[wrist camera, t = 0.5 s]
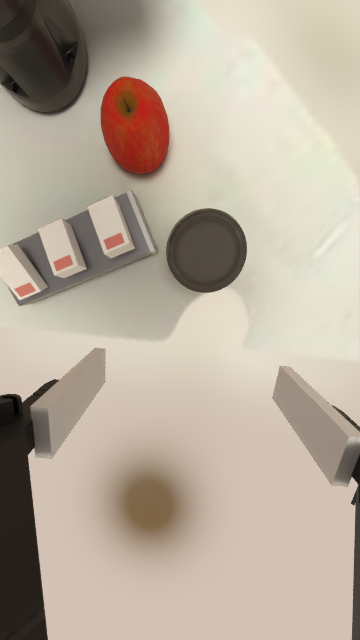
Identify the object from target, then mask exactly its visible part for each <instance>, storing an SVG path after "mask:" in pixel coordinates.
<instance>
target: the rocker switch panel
mask: <svg viewBox="0 0 360 640" xmlns="http://www.w3.org/2000/svg"><path fill="white" fill-rule="evenodd" d="M115 199H116V201H117V202H118V203H119V206H120V209H121V211H122V214H123V217H124V220H125V222H126V225H127V228H128V231H129V233H130V236H131V239H132V242H133V244H134V247H135V249H133V250H130V251H128V252H125V253H123V254H121V255H118V256H116V257H113V258H109V257H108V256H106V255H105V254H104V252H103V249H102V247H101V244H100V241H99V238H98V235H97V233H96V230H95V227H94V224H93V222H92V219H91V216H90V213H89V210H87V211H85V212H83V213H80V214H78V215H76V216H74V217H72V218H69V219H67V220H65V221H66V222H68V223H69V224H70V225H71V226H72V229H73V232H74V234H75V237H76V240H77V243H78V246H79V248H80V251H81V254H82V257H83V260H84V263H85V265H86V268H87V269H85V270H83V271H80V272H78V273H75V274H73V275H71V276H68V277H66V278H61V277H58V276H54V274H53V271H52V268H51V265H50V263H49V260H48V257H47V254H46V251H45V248H44V245H43V243H42V240H41V237H40V234H39V232H38V233H36V234H34V235H32V236H30V237H27V238H25V239H23V240H21V241H19V242H16V243H14V244H18V245H19V247H20V248H21V250H22V251H23V252H24V254H25V255H26V257H27V258H28V259H29V261H30V262H31V264H32V265H33V266H34V268H35V269H36V271H37V272H38V273H39V275H40V276H41V278H42V279H43V280H44V282H45V283H46V285H47V286H48V287H47V288H46V289H44V290H42V291H41V292H38V293H36V294H33V295H31V296H29V297H26V298H24V299H21V300H19V299H18V298H17V297H16V295H15V294H14V293H13V292H12V290H11V289H10V288H9V287H8V288H9V290H10V291H11V293H12V295H13V297H14V298H15V300H16V302H17V304H18V305H19V306H23V305H27V304H32V303H35V302H38V301H40V300H43V299H45V298H47V297H50V296H52V295H55V294H57V293H60V292H62V291H64V290H67V289H69V288H72V287H74V286H76V285H79V284H81V283H84V282H86V281H89V280H91V279H93V278H96V277H98V276H101V275H103V274H106V273H108V272H110V271H113V270H115V269H118V268H120V267H123V266H125V265H127V264H130V263H132V262H135V261H137V260H140V259H142V258H144V257H147V256H149V255H152V254H155V253H158V251H157V248H156V246H155V243H154V240H153V238H152V235H151V233H150V230H149V228H148V225H147V223H146V220H145V217H144V215H143V212H142V210H141V207H140V205H139V202H138V200H137V198H136V196H135V195H134V193H133V192H132V190H129V191H127V193H124V194H122V195H120V196H118V197H116V198H115ZM14 244H12V245H14ZM7 286H8V285H7Z"/></svg>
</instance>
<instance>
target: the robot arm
mask: <svg viewBox="0 0 360 640" xmlns="http://www.w3.org/2000/svg"><path fill="white" fill-rule="evenodd" d="M86 66H87V52H86V45H85V40H84V36H83V33H82V30H81V28H80V25H79V23H78V21H77V18H76V16H75V14H74V12H73V9H72V7H71V5H70V4H69V2H68V0H0V84H1V85H2V86H3V87H4V88H5V89H6V90H7V91H8V92H9V93H10V94H11V96H12V97H13V98H15V99H16V100H17V101H18V102H19V103H21V104H22V105H24V106H26V107H28V108H30V109H32V110H35V111H40V112H51V111H56V110H59V109H61V108H63V107H65V106H66V105H68V104H69V103H70V102H71V101H72V100H73V99H74V98H75V96H76V95H77V94H78V92H79V90H80V88H81V86H82V84H83V81H84V77H85V73H86ZM104 383H105V349H100V348H94V349H93V350H92V351H91V352H90V353H89V354H88V355H87V356H86V357H85V358H84V359H82V360H81V361H80V362H79V363H78V364H77V365H76V366H75V367H74V368H72V369H71V370H70V371H69V372H68V373H67V374H66V375H65V376H63V378H61V379H60V380H56V379H54V380H52V381H50V382H48V383H46V384H44V385H43V386H42V387H40V388H39V389H38V390H37V391H36V392H34V393H33V395H31V396H30V397H28V398H27V399H26V400H25V401H24V402H23V403H22V400H21V397H20V396H19V395H16V394H6V395H1V396H0V640H48V636H47V628H46V618H45V609H44V600H43V591H42V581H41V572H40V563H39V554H38V545H37V536H36V527H35V518H34V508H33V499H32V490H31V481H30V471H29V463H28V454H29V453H30V452H31V451H32V449H33V448H34V449H35V457H37V458H47V459H52V458H53V456H54V455H55V454H56V452H57V451H58V449H59V448H60V446H61V445H62V443H63V442H64V441H65V439H66V438H67V436H68V435H69V433H70V432H71V430H72V429H73V428H74V426H75V425H76V423H77V422H78V420H79V419H80V417H81V416H82V415H83V413H84V412H85V410H86V409H87V407H88V406H89V404H90V403H91V402H92V400H93V399H94V397H95V396H96V394H97V393H98V391H99V390H100V389H101V387H102V386H103V384H104ZM273 400H274V401H275V402H276V404H277V405H278V407H279V408H280V410H281V411H282V413H283V414H284V416H285V417H286V419H287V420H288V422H289V423H290V425H291V426H292V428H293V429H294V430H295V432H296V433H297V435H298V436H299V438H300V439H301V441H302V442H303V444H304V445H305V447H306V448H307V450H308V451H309V453H310V454H311V456H312V457H313V459H314V460H315V462H316V463H317V464H318V466H319V467H320V469H321V470H322V472H323V473H324V475H325V476H326V478H327V479H328V481H329V482H330V483H331V485H335V486H345V487H348V485H349V482H350V480H351V477H353V478H354V479H355V481H356V482H357V483H358V484H359V485H358V488H357V490H356V492H355V495H354V497H353V500H352V502H351V504H353V505H355V503H356V513H355V514H356V515H355V548H354V585H353V623H352V640H360V427H359V426H357V424H356V423H355V422H354V421H353V420H351V419H350V418H349V417H348V416H347V415H346V414H345V413H344V412H342V411H341V410H339V409H338V408H336V407H335V406H333V405H330V404H329V403H328V402H327V401H326V400H325V399H324V398H323V397H322V396H321V395H320V394H319V393H317V392H316V391H315V390H314V389H313V388H312V387H311V386H310V385H309V384H308V383H307V382H306V381H305V380H304V379H303V378H301V377H300V376H299V375H298V374H297V373H296V372H295V371H294V370H293V369H292V368H291V367H287V366H280V368H279V373H278V376H277V381H276V385H275V389H274V393H273Z"/></svg>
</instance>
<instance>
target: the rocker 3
mask: <svg viewBox="0 0 360 640" xmlns="http://www.w3.org/2000/svg"><path fill="white" fill-rule="evenodd" d="M87 208H88V210H89V213H90V216H91V219H92V222H93V224H94V227H95V230H96V233H97V235H98V238H99V241H100V244H101V247H102V249H103V252H104V254H105V255H106V256H108V257H109V258H113V257H116V256H118V255H121V254H123V253H125V252H128V251H130V250H133V249H135V247H134V244H133V242H132V239H131V236H130V233H129V231H128V228H127V225H126V222H125V220H124V217H123V214H122V211H121V209H120V206H119V203H118V202H117V201H116V199H115V198H114V197H113V195H111V196H109V197H107V198H105V199H103V200H100V201H98V202H96V203H94V204H92V205H90V206H87Z"/></svg>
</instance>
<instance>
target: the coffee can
mask: <svg viewBox="0 0 360 640" xmlns="http://www.w3.org/2000/svg"><path fill="white" fill-rule="evenodd" d="M246 254H247V244H246V239H245V235H244V232H243V230H242V228H241V227H240V225H239V224H238V223H237V221H236V220H235V219H234V218H233V217H231V216H230V215H229V214H227V213H225V212H223V211H221V210H217V209H210V208H206V209H199V210H195V211H193V212H191V213H189V214H187V215H185V216H184V217H183V218H182V219H180V220H179V221H178V223H177V224H176V225H175V226H174V228H173V229H172V231H171V233H170V236H169V238H168V242H167V250H166V255H167V262H168V265H169V268H170V270H171V272H172V274H173V275H174V277H175V278H176V279H177V280H178V281H179V282H180V283H181V284H182V285H183V286H185V287H186V288H188V289H190V290H193V291H196V292H203V293H209V292H214V291H218V290H220V289H223V288H224V287H226V286H228V285H229V284H230V283H232V282H233V281H234V280H235V279H236V278H237V276H238V275H239V274H240V272H241V270H242V268H243V266H244V263H245V260H246Z"/></svg>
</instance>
